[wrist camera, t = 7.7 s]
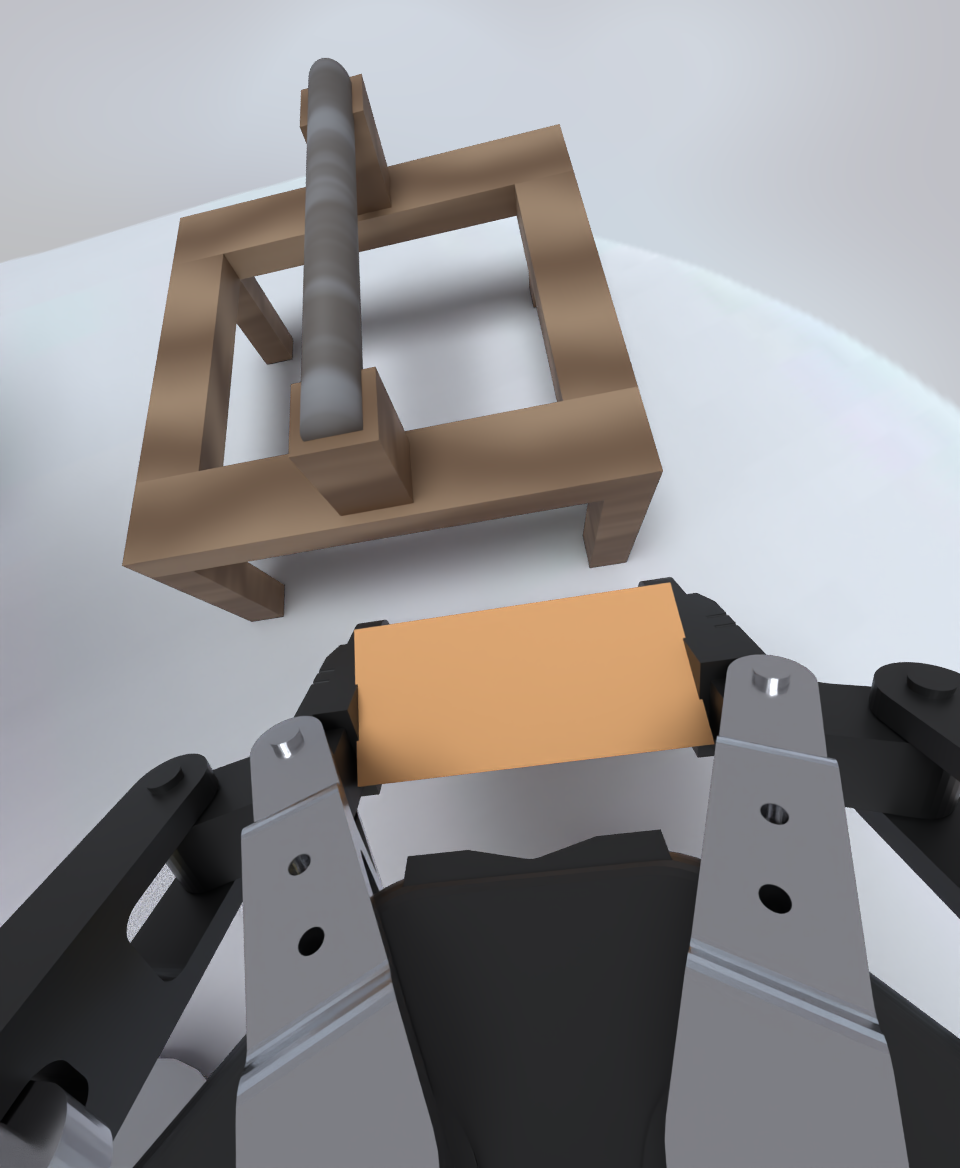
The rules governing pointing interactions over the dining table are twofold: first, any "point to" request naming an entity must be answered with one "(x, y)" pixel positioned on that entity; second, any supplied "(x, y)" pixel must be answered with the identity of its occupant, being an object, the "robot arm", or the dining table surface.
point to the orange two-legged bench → (525, 687)
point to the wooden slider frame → (357, 396)
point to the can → (154, 1109)
